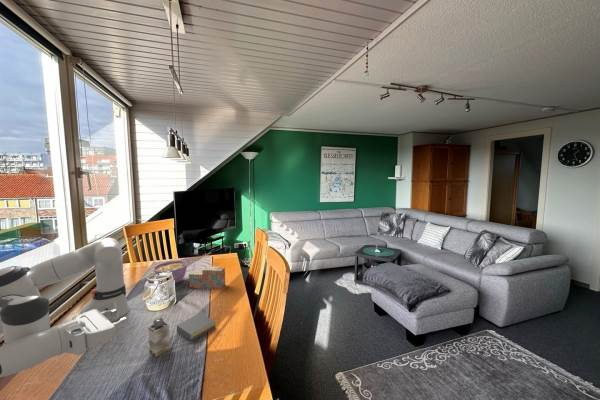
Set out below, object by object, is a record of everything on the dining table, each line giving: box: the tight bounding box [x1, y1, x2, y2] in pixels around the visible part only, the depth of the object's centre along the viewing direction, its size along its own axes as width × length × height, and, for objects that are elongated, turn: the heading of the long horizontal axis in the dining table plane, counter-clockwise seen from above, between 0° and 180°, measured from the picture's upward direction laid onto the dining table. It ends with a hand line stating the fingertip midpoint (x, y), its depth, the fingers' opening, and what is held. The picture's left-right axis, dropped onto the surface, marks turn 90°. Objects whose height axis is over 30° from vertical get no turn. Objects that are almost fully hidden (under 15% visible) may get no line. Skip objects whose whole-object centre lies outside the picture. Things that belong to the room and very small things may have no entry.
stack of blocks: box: [188, 266, 226, 290], centre depth 158 cm, size 21×6×12 cm, turn 85°
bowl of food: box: [153, 260, 188, 284], centre depth 164 cm, size 20×20×12 cm
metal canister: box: [153, 317, 164, 330], centre depth 100 cm, size 3×3×3 cm
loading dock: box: [176, 312, 217, 342], centre depth 114 cm, size 12×12×3 cm
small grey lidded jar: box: [147, 319, 172, 358], centre depth 101 cm, size 6×6×10 cm
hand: (121, 315), depth 89 cm, fingers open, 8 cm apart
